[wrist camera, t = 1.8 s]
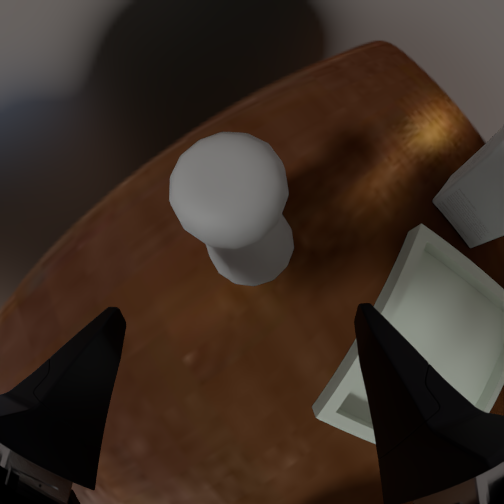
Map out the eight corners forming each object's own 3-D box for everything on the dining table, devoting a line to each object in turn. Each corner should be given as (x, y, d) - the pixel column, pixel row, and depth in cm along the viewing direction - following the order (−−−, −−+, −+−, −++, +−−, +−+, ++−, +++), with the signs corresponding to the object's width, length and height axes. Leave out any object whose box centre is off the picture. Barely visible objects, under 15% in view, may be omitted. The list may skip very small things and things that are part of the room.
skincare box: (485, 221, 20) (569, 175, 9) (467, 252, 20) (563, 214, 8) (447, 174, 22) (520, 105, 10) (426, 202, 21) (510, 133, 9)
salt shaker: (277, 203, 22) (277, 89, 10) (302, 272, 21) (342, 225, 8) (206, 227, 22) (132, 139, 10) (227, 297, 21) (161, 286, 8)
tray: (441, 459, 17) (452, 468, 14) (311, 406, 19) (315, 417, 17) (514, 314, 18) (529, 314, 16) (408, 231, 21) (421, 223, 19)
